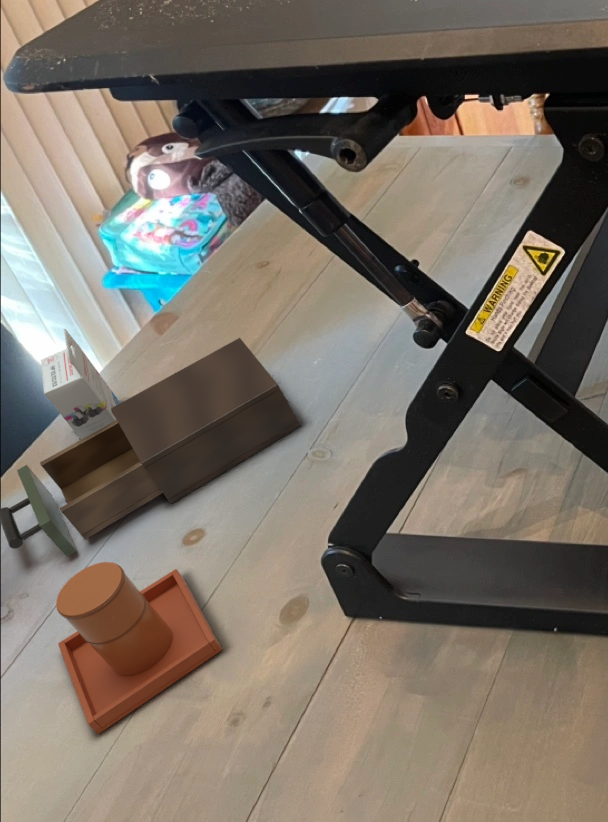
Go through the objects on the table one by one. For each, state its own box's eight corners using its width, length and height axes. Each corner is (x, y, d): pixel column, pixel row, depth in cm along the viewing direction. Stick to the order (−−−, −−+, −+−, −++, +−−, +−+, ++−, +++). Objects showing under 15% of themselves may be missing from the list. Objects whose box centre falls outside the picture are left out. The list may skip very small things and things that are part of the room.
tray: (98, 734, 107) (88, 724, 106) (67, 653, 116) (57, 643, 115) (222, 649, 113) (214, 639, 112) (184, 579, 122) (176, 568, 121)
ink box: (85, 420, 148) (25, 342, 139) (122, 403, 149) (65, 325, 140) (90, 455, 141) (29, 376, 132) (129, 437, 143) (70, 358, 134)
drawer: (30, 578, 125) (2, 547, 121) (8, 519, 133) (-19, 489, 129) (199, 477, 134) (178, 445, 130) (169, 428, 142) (147, 397, 138)
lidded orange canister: (120, 688, 111) (63, 628, 104) (103, 649, 115) (48, 589, 108) (181, 648, 114) (130, 586, 107) (163, 611, 118) (112, 550, 111)
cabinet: (171, 504, 132) (141, 463, 127) (139, 448, 141) (110, 408, 136) (301, 425, 139) (277, 384, 135) (263, 377, 149) (239, 337, 144)
